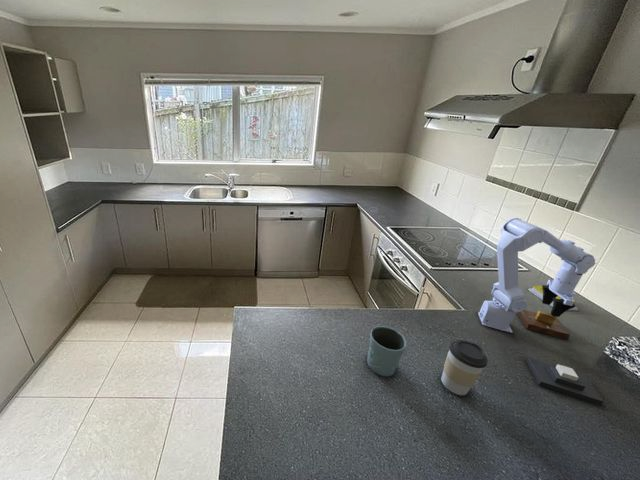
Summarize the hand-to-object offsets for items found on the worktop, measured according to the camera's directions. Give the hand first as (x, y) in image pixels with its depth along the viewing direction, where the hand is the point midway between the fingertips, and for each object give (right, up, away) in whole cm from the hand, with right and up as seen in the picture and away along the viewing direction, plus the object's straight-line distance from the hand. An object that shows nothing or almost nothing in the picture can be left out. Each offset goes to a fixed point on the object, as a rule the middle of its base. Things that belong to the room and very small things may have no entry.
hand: (549, 309), depth 108 cm
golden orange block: (0, -5, +2) cm, 6 cm away
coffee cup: (-53, -16, -22) cm, 60 cm away
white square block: (-18, -14, -21) cm, 31 cm away
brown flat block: (0, -7, +3) cm, 8 cm away
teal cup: (-73, -13, -17) cm, 76 cm away
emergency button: (+21, -2, +19) cm, 29 cm away
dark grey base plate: (-18, -17, -20) cm, 31 cm away
